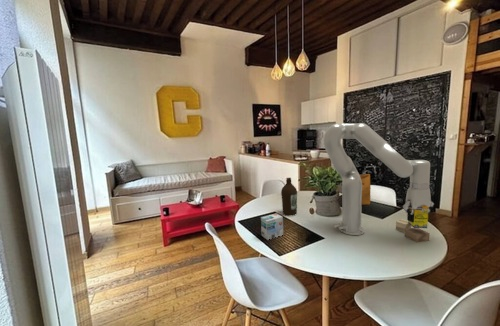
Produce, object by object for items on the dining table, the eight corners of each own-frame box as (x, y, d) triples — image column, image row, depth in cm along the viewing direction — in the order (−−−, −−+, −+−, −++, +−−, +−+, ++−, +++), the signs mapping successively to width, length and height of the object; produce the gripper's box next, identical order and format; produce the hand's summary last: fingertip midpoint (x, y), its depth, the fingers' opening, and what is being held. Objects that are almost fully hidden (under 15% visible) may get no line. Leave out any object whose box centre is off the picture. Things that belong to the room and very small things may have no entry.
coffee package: (350, 200, 173) (351, 172, 170) (368, 201, 169) (369, 172, 166) (352, 204, 164) (352, 175, 161) (371, 205, 160) (371, 175, 157)
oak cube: (405, 233, 117) (405, 224, 117) (395, 229, 122) (396, 221, 121) (411, 231, 119) (411, 222, 119) (401, 227, 124) (402, 219, 123)
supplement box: (413, 228, 108) (414, 206, 107) (407, 223, 114) (408, 202, 113) (427, 228, 107) (429, 206, 106) (420, 223, 113) (422, 202, 111)
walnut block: (416, 242, 108) (417, 235, 107) (404, 236, 115) (404, 229, 114) (429, 241, 109) (429, 233, 108) (416, 234, 116) (416, 227, 115)
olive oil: (278, 213, 154) (277, 178, 150) (288, 209, 161) (287, 175, 157) (291, 217, 146) (290, 180, 143) (300, 212, 153) (299, 177, 150)
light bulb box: (267, 240, 118) (266, 221, 116) (261, 235, 124) (260, 217, 122) (284, 235, 123) (283, 216, 121) (277, 230, 128) (276, 212, 127)
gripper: (427, 182, 113) (425, 215, 115) (397, 185, 110) (396, 219, 113) (442, 185, 105) (440, 221, 108) (410, 189, 103) (408, 225, 105)
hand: (417, 220), depth 110 cm, fingers closed on supplement box, 7 cm apart
